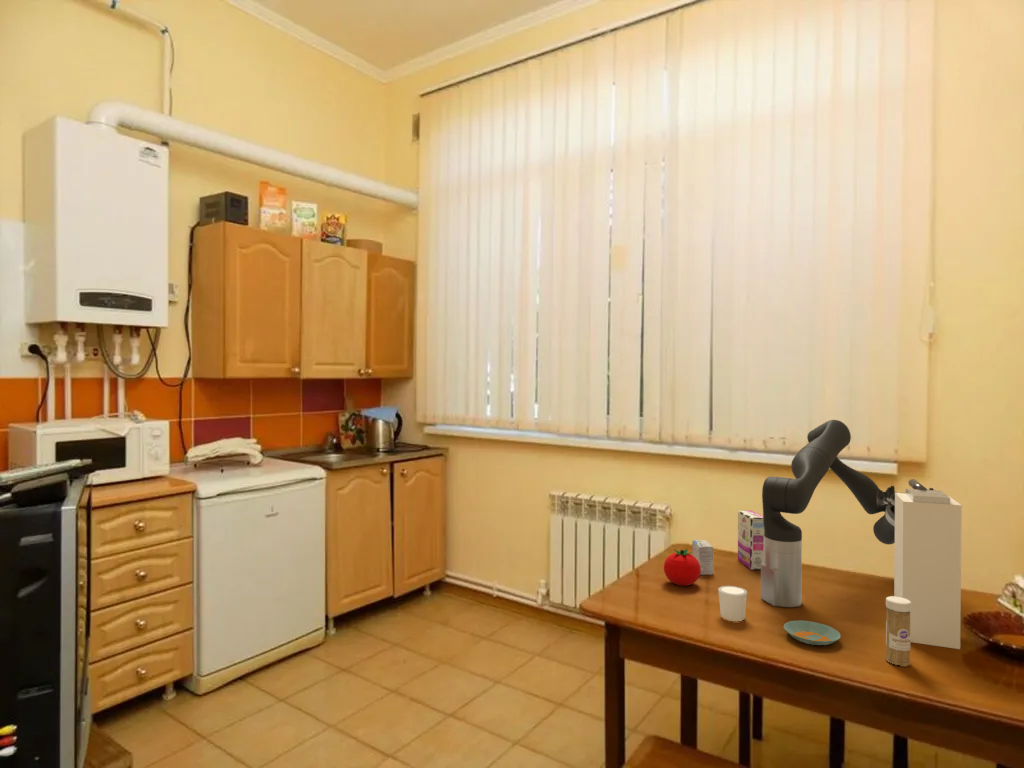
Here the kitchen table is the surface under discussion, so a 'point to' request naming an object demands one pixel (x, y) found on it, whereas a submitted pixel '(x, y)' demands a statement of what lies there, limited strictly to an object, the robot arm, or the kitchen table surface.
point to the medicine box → (703, 556)
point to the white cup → (732, 602)
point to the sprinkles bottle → (898, 630)
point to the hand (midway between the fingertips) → (912, 490)
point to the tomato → (682, 568)
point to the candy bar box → (750, 539)
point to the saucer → (812, 627)
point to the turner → (925, 494)
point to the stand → (929, 568)
